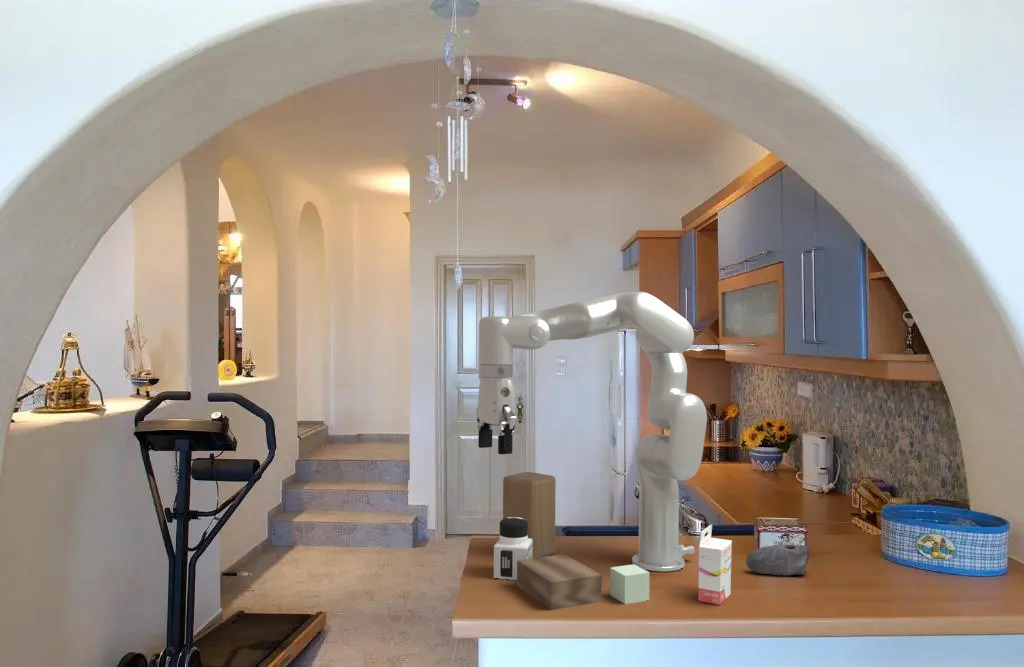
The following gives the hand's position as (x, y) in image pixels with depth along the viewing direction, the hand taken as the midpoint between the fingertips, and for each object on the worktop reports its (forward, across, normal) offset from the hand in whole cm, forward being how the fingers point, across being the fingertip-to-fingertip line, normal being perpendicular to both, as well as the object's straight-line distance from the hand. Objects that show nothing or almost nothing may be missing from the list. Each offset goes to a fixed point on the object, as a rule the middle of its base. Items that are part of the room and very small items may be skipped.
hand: (495, 450), depth 167 cm
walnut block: (+31, -9, -11) cm, 34 cm away
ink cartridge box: (+31, -26, -40) cm, 57 cm away
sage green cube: (+31, -18, -23) cm, 42 cm away
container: (+31, +6, -8) cm, 32 cm away
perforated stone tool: (+31, -21, -64) cm, 74 cm away
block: (+31, +19, -19) cm, 41 cm away
